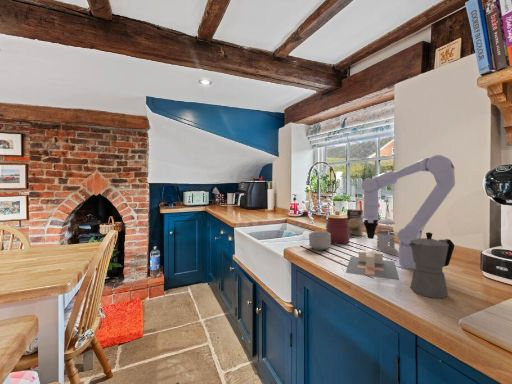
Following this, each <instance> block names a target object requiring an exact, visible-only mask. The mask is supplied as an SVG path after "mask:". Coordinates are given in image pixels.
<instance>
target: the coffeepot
mask: <svg viewBox="0 0 512 384" xmlns="http://www.w3.org/2000/svg"><path fill="white" fill-rule="evenodd" d="M425 235H426V237H425V238H420V239H415V240H411V243H410V244H409V246H411V247H412V253H413V260H414V262H415V263H416V268H415V269H413V273H412V279H411V282H410V289H411V291H412V292H414V293H416V294H417V295H420V296H423V297H426V298H431V299H444V298H446V297H447V296H448V295H449V293H448V288H447V283H446V282H447V281H446V278H445V277H446V276H445V273H444V272H443V268H444V267H448V266H449V265H450V262H451V259H452V256H453V252H454V249H455V244H454V243H453V241H452V240H451V239H448V238H447V239H438V240H437V239H435V238H432V236H433V233H432V232H425Z"/></svg>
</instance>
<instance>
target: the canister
mask: <svg viewBox="0 0 512 384" xmlns="http://www.w3.org/2000/svg"><path fill="white" fill-rule="evenodd" d="M326 217H327V219H326V220H325V222H326V225H325V232H328V233H330V234H331V235H330V236H331V243H332V244H347V243H350V239H351V238H350V235H349V228H350V227H349V222H350V221H349V220H348V219H347V218H348V217H347V214H344V213H341V211H340V210H336V211H335V213H330V214H329V215H327V216H326Z"/></svg>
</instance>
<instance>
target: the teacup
mask: <svg viewBox="0 0 512 384" xmlns="http://www.w3.org/2000/svg"><path fill="white" fill-rule="evenodd" d="M330 235H331V234H330V233H328V232H326V231H319V230H318V231H316V230H315V231H313V232H312V231H311V232H308V240H309V243H308V244H309V246H310V247H311V248H312V249H313V250H315V249H316V250H317V251H326V250H327V249H328V248H330V247H331V236H330ZM316 250H315V251H316Z"/></svg>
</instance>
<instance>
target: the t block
mask: <svg viewBox="0 0 512 384" xmlns="http://www.w3.org/2000/svg"><path fill="white" fill-rule="evenodd" d="M358 257H359V261H360V262H366V267H373V268H375V263H377V264H383V260H384V251H383V252H382V251H374V250H373V251H371V250H364V249H363V250H361V249H358Z"/></svg>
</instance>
